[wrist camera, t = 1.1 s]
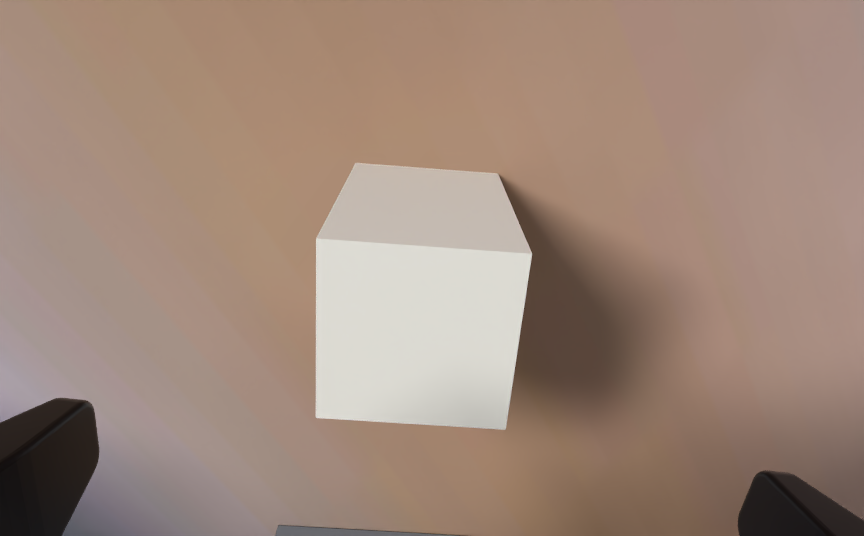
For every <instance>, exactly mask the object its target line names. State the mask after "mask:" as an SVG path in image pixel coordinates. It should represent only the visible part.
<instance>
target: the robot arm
mask: <svg viewBox="0 0 864 536" xmlns="http://www.w3.org/2000/svg"><path fill="white" fill-rule="evenodd" d="M98 458H99V444H98V436H97V428H96V420H95V412H94V408H93V406H92V404H91V403H90V402H88V401H86V400H78V399H69V398H56V399H53V400H51V401H48V402H46V403H44V404H42V405H39V406H37V407H35V408H33V409H30V410H28V411H26V412H23V413H21V414H19V415H17V416H14V417H12V418H10V419H8V420H5V421H3V422H1V423H0V536H62V534H63V532H64V530H65V528H66V526H67V524H68V522H69V520H70V518H71V516H72V514H73V512H74V510H75V508H76V506H77V504H78V502H79V500H80V499H81V497H82V495H83V493H84V491H85V489H86V487H87V485H88V483H89V481H90V479H91V477H92V475H93V473H94V471H95V468H96V466H97V463H98ZM738 531H739V535H740V536H864V521H863V520H862V519H860V518H859V517H857V516H856V515H854V514H853V513H851V512H850V511H848V510H847V509H845V508H844V507H842V506H841V505H839V504H838V503H836V502H835V501H833V500H831V499H830V498H828V497H827V496H825V495H824V494H822V493H821V492H819V491H818V490H816V489H815V488H813V487H812V486H810V485H809V484H807V483H806V482H804V481H803V480H801V479H800V478H798V477H797V476H795V475H793V474H790V473H785V472H775V471H761V472H759V473H758V474H757V475H756V476H755V477H754V479H753V482H752V484H751V486H750V489H749V491H748V494H747V496H746V498H745V501H744V503H743V506H742V508H741V510H740V513H739V517H738Z"/></svg>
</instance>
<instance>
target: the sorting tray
mask: <svg viewBox="0 0 864 536" xmlns="http://www.w3.org/2000/svg"><path fill="white" fill-rule="evenodd" d="M275 536H457V535H439V534H422V533H404V532H386V531H369V530H351V529H333V528H315V527H298V526H280V525H278V528H277V531H276V535H275Z"/></svg>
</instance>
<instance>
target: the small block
mask: <svg viewBox="0 0 864 536" xmlns="http://www.w3.org/2000/svg"><path fill="white" fill-rule="evenodd" d="M531 258H532V252H531V250H530V248H529V245H528V243H527V241H526V238H525V236H524V234H523V231H522V229H521V227H520V224H519V222H518V220H517V217H516V215H515V212H514V210H513V208H512V205H511V203H510V201H509V198H508V196H507V194H506V191H505V189H504V187H503V184H502V182H501V180H500V177H499V175H498V174H497V173H484V172H470V171H457V170H444V169H430V168H417V167H404V166H390V165H377V164H364V163H355V165H354V167H353V169H352V171H351V173H350V175H349V177H348V179H347V180H346V182H345V184H344V186H343V188H342V190H341V192H340V194H339V196H338V198H337V200H336V202H335V203H334V205H333V207H332V209H331V211H330V213H329V215H328V217H327V219H326V221H325V223H324V225H323V226H322V228H321V230H320V232H319V234H318V236H317V238H316V418H326V419H343V420H359V421H375V422H391V423H407V424H423V425H439V426H455V427H471V428H488V429H504V430H506V424H507V417H508V410H509V404H510V397H511V391H512V384H513V377H514V371H515V364H516V357H517V351H518V344H519V338H520V331H521V324H522V318H523V311H524V305H525V298H526V291H527V285H528V278H529V271H530V265H531Z"/></svg>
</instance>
